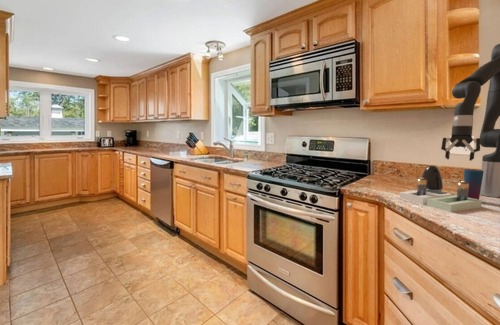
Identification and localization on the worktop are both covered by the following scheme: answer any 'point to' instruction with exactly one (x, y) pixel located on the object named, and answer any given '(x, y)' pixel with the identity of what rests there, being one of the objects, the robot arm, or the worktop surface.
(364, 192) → the worktop surface
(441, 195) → the battery tester
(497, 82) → the robot arm
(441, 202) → the trough rack
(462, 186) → the cell
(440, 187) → the black tapered dome
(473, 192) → the cup
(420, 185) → the cell
